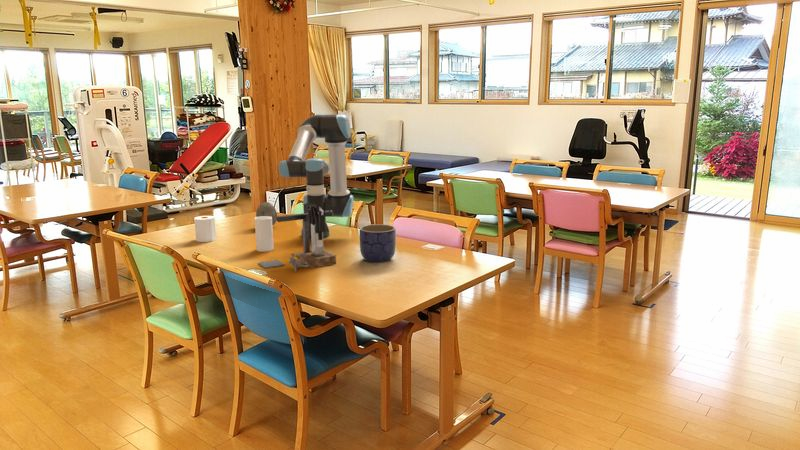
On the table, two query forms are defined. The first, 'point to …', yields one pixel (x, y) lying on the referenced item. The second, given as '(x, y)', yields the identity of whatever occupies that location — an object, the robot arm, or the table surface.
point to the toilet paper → (205, 228)
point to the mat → (271, 264)
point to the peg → (315, 250)
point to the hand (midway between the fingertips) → (317, 245)
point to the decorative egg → (267, 211)
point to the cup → (264, 233)
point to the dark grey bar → (299, 216)
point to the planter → (377, 242)
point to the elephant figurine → (297, 263)
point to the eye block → (318, 259)
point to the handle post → (305, 238)
